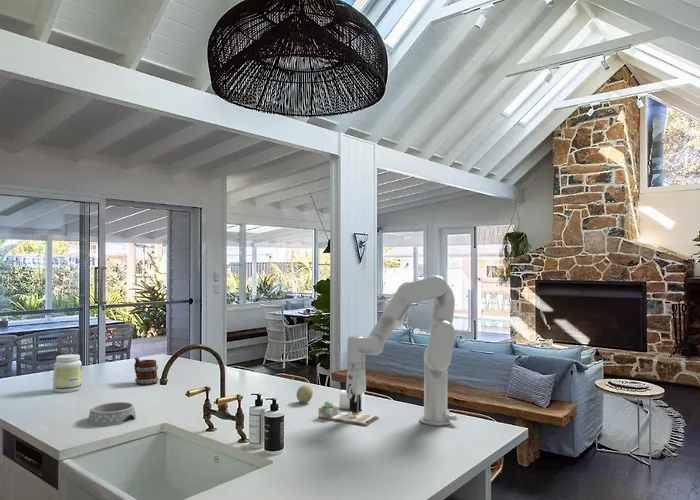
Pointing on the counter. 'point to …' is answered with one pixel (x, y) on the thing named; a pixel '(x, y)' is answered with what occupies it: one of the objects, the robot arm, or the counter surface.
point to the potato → (304, 394)
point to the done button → (328, 404)
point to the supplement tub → (67, 373)
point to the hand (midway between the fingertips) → (355, 409)
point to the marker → (357, 406)
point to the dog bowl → (111, 413)
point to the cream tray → (345, 416)
